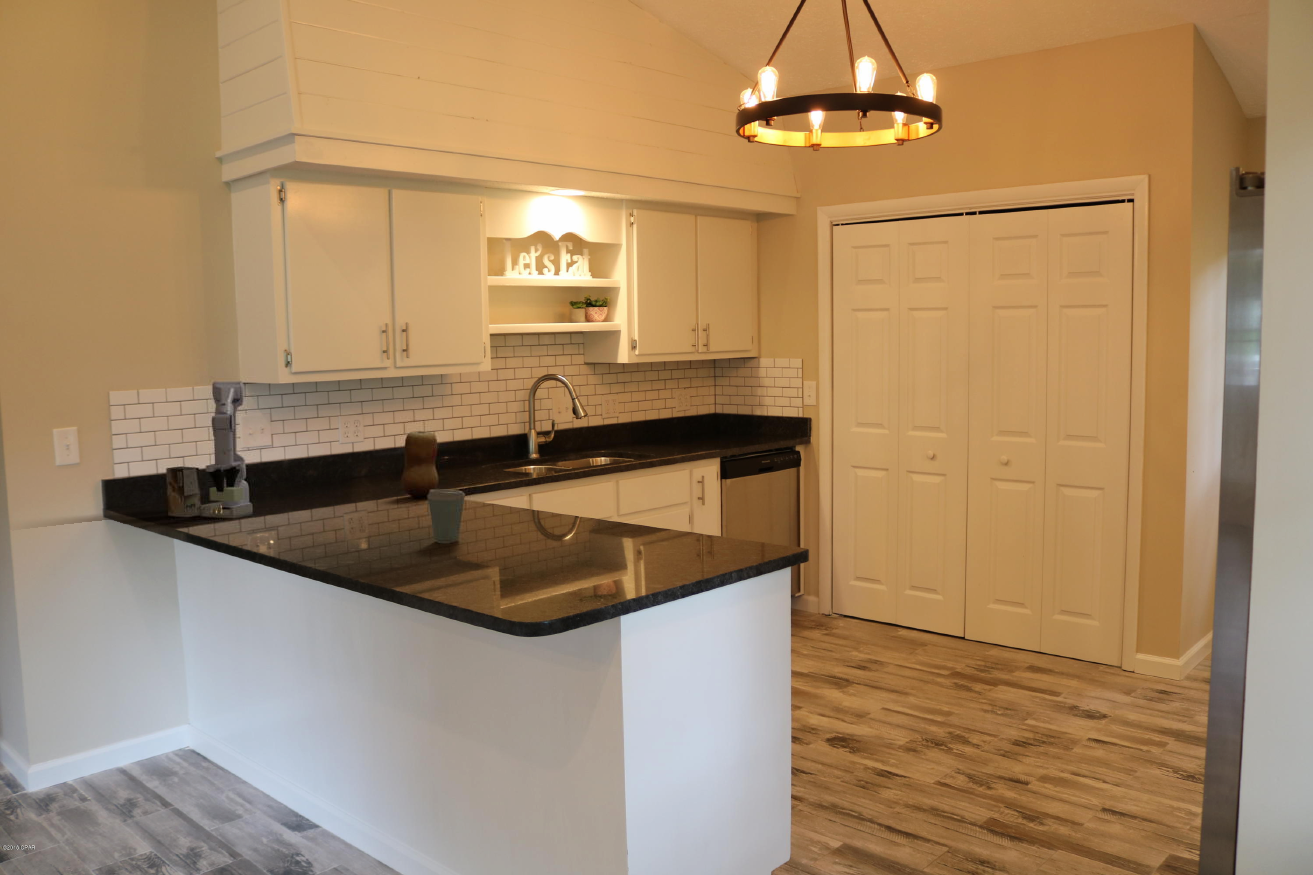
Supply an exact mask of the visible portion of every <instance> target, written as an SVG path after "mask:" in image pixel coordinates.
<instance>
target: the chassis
mask: <svg viewBox="0 0 1313 875" xmlns="http://www.w3.org/2000/svg"><path fill="white" fill-rule="evenodd" d="M251 515H253V503H251V504H246V505H241V506H236V507H231V508H229V509H223V507H221V502H220V501H218V502H217V501H216V502H210V503H206V504H201V505H200V506H199V515H198V517H206V518H208V517H209V518H222V519H237V518H241V517H247V516H251Z"/></svg>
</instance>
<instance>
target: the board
mask: <svg viewBox="0 0 1313 875" xmlns="http://www.w3.org/2000/svg"><path fill="white" fill-rule="evenodd" d="M209 500H210V501H216V502H217V501H218V502H220V501H239V500H243V488H235V487H224V491H223V492H217V490H216V487H210V488H209Z"/></svg>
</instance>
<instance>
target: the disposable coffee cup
mask: <svg viewBox="0 0 1313 875" xmlns="http://www.w3.org/2000/svg"><path fill="white" fill-rule="evenodd" d="M465 498H466V494H465V493H464V491H462V490H457V489H435V490H430V491H429V494H428V496H427V499H428V506H429V511H430V519H431V526H432V531H433V532H432V534H433V538H434V542H435V543H437V542H438V544H451V543H450V542H454V543H456V542H455V541H457V542H458V539H459V536H460V530H461V523H462V516H463V511H464V510H463V508H464V503H465Z"/></svg>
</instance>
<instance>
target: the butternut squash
mask: <svg viewBox="0 0 1313 875" xmlns="http://www.w3.org/2000/svg"><path fill="white" fill-rule="evenodd" d="M403 450H404V451H403V452H404V453H403V454H404V470H403V472H402V475H401V479H400V483H401V487H402V488H403V490H404V492H405V493H407V494H408V495H409V496H410V497H411V498H412V497H413V498H412V499H417V498H418V499H419V498H426V497H428V494H429V491H430V490H436V489H437V487H438V484H439V475H438V472H437V469H436V459H437V454H438V453H437V452H438V440H437V436H436V434H435V433H433V432H430V431H423V430H412V431H410V432H409V433H407V434H406V437H405V439H404V449H403Z"/></svg>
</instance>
